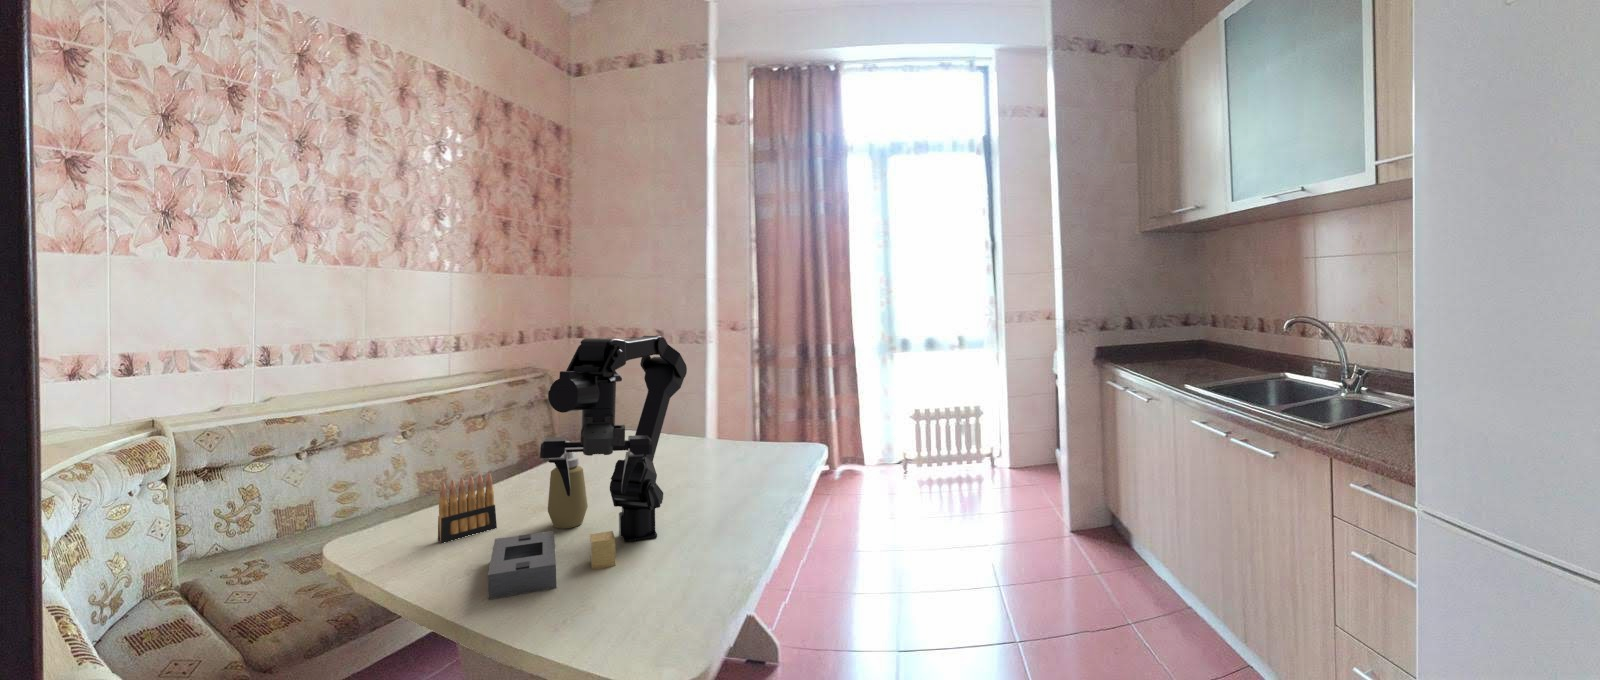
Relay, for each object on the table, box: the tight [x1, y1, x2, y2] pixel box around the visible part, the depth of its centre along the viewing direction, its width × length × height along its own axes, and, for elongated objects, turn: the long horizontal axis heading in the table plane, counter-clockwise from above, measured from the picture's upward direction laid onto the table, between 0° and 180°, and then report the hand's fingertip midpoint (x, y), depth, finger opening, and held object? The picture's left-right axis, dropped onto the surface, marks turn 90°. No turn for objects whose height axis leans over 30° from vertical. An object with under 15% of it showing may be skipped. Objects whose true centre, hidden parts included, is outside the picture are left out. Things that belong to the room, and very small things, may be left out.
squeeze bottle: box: [547, 440, 589, 529], centre depth 126 cm, size 8×8×18 cm
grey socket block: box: [487, 530, 557, 601], centre depth 104 cm, size 10×16×4 cm, turn 24°
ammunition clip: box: [437, 472, 498, 544], centre depth 121 cm, size 11×2×12 cm, turn 141°
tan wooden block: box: [589, 530, 616, 570], centre depth 108 cm, size 4×4×5 cm
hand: (596, 494), depth 107 cm, fingers open, 9 cm apart
